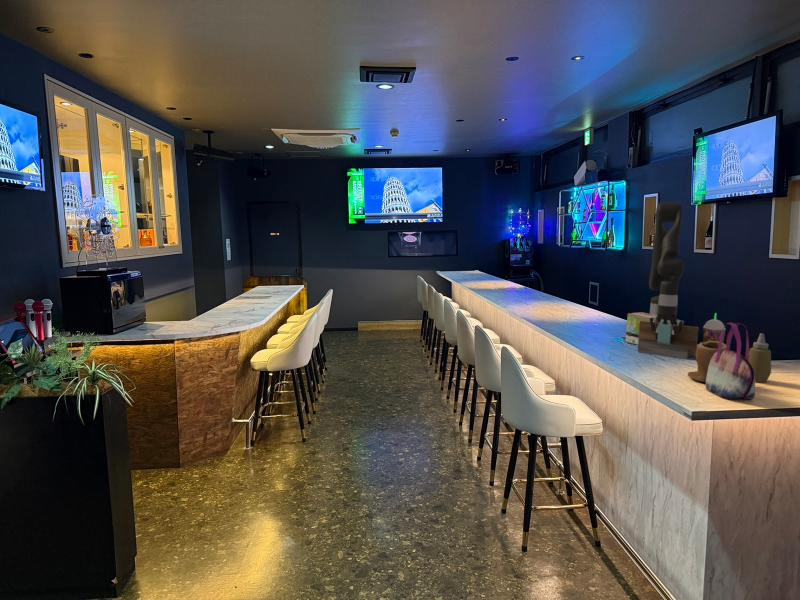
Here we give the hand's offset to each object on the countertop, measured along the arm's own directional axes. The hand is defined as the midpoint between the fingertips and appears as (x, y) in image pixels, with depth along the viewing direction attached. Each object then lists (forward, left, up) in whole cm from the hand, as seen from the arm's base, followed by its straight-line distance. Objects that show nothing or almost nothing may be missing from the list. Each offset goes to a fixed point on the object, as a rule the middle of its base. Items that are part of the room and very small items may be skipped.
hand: (664, 341), depth 236 cm
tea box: (-15, -12, -6) cm, 20 cm away
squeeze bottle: (+23, +37, -6) cm, 44 cm away
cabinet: (0, 0, -2) cm, 2 cm away
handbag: (+49, +31, -6) cm, 58 cm away
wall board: (-1, 0, -6) cm, 6 cm away
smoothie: (-5, +18, -6) cm, 20 cm away
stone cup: (+35, +24, -6) cm, 43 cm away
